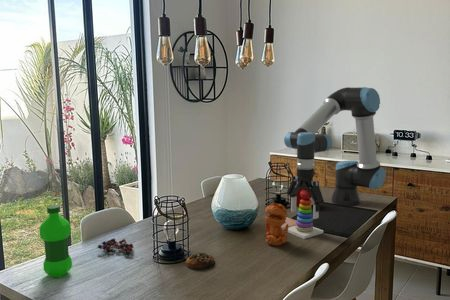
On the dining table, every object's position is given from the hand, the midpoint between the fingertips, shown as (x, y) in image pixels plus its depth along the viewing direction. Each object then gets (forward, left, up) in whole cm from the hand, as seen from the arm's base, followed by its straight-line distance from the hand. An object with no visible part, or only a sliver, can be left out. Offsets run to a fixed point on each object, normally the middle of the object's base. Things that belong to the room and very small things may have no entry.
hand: (304, 214), depth 193 cm
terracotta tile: (0, -13, -8) cm, 16 cm away
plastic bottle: (+101, -22, -8) cm, 104 cm away
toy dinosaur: (+19, +2, -8) cm, 21 cm away
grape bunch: (+76, -30, -9) cm, 82 cm away
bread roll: (+55, 0, -9) cm, 56 cm away
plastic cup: (-28, -31, -8) cm, 43 cm away
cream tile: (0, 0, -8) cm, 8 cm away
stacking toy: (0, 0, -7) cm, 7 cm away
